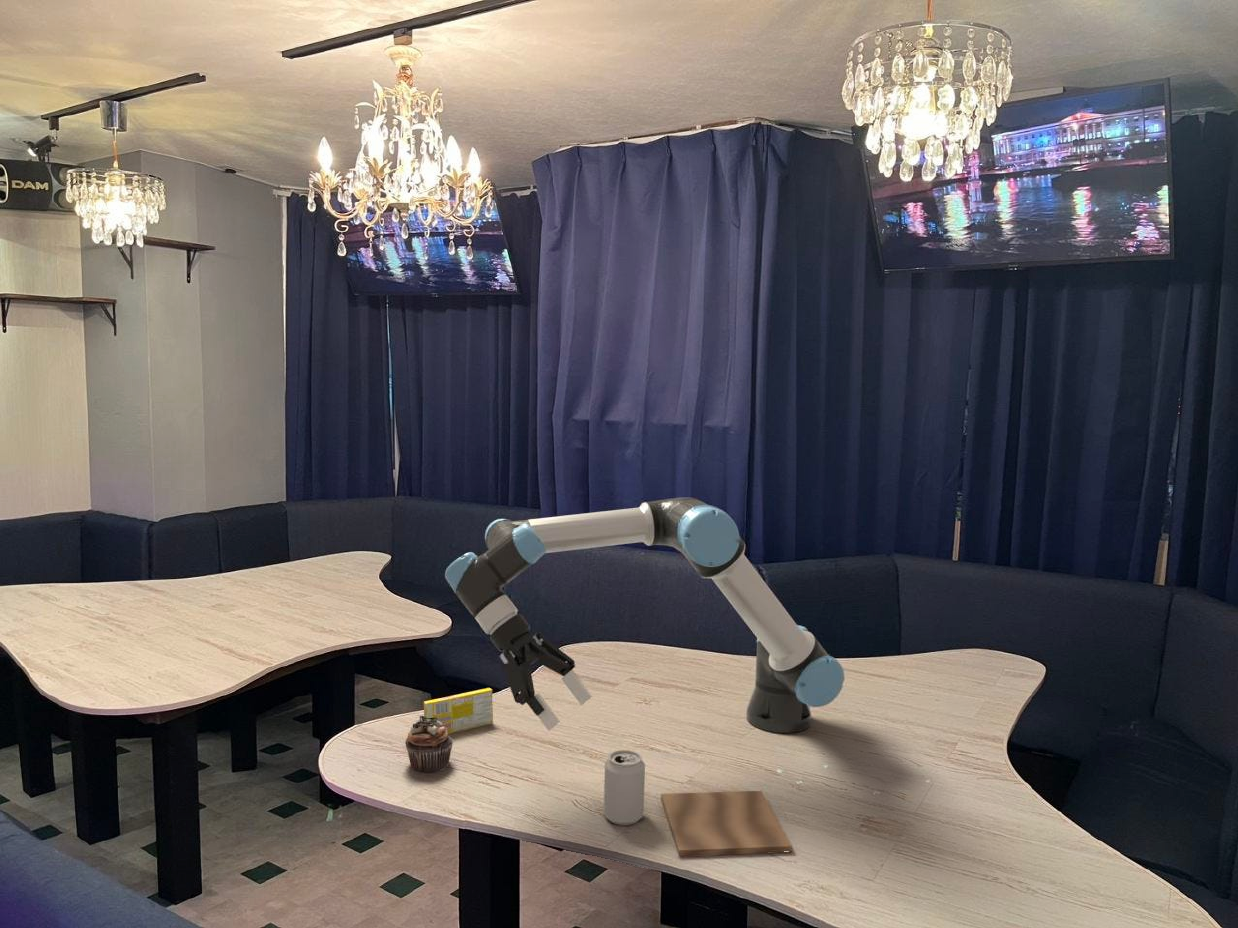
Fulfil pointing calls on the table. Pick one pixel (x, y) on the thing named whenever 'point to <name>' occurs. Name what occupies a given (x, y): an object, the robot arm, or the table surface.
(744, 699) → the table surface
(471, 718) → the candy box
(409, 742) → the cupcake
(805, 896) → the table surface
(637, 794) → the can
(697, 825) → the walnut board
